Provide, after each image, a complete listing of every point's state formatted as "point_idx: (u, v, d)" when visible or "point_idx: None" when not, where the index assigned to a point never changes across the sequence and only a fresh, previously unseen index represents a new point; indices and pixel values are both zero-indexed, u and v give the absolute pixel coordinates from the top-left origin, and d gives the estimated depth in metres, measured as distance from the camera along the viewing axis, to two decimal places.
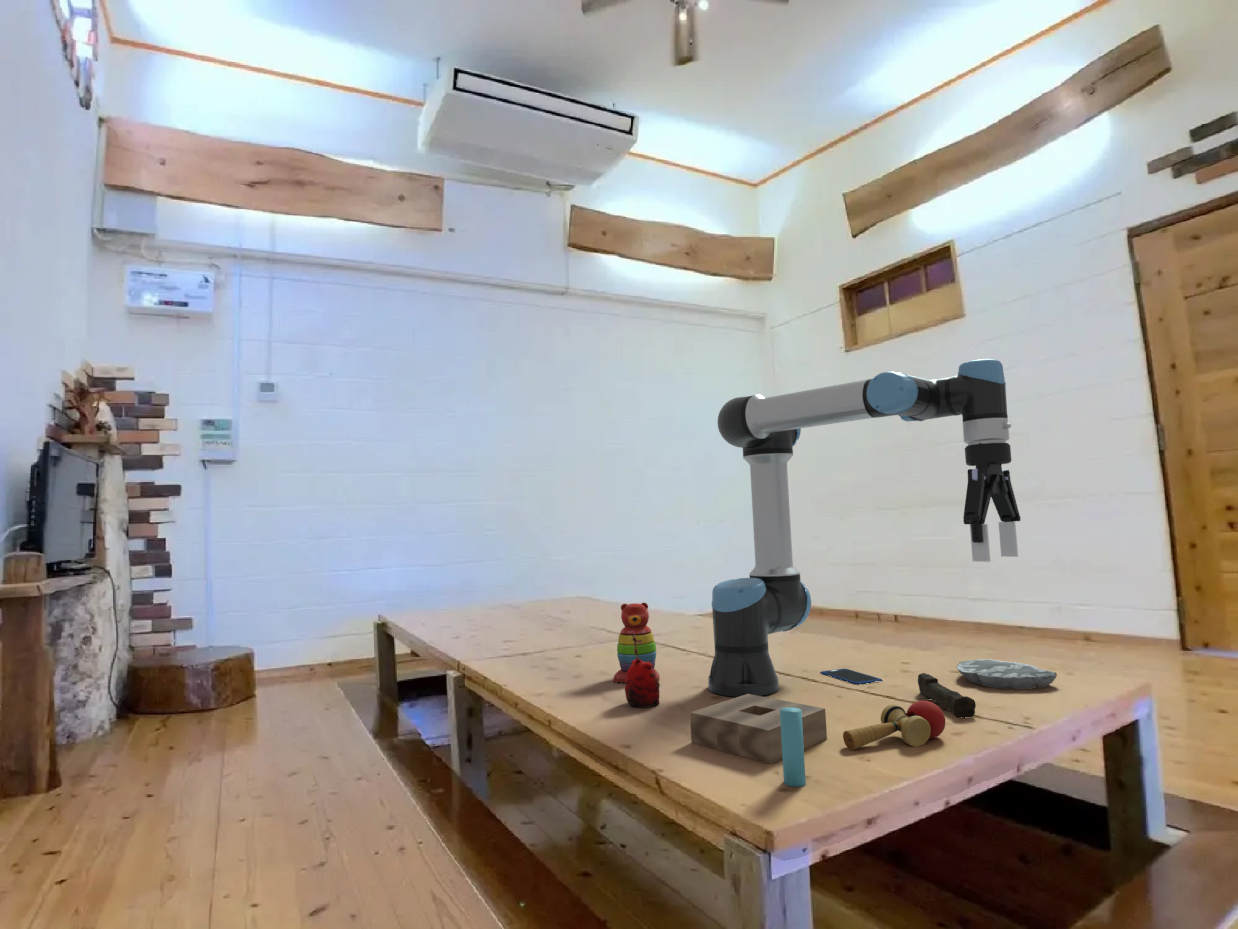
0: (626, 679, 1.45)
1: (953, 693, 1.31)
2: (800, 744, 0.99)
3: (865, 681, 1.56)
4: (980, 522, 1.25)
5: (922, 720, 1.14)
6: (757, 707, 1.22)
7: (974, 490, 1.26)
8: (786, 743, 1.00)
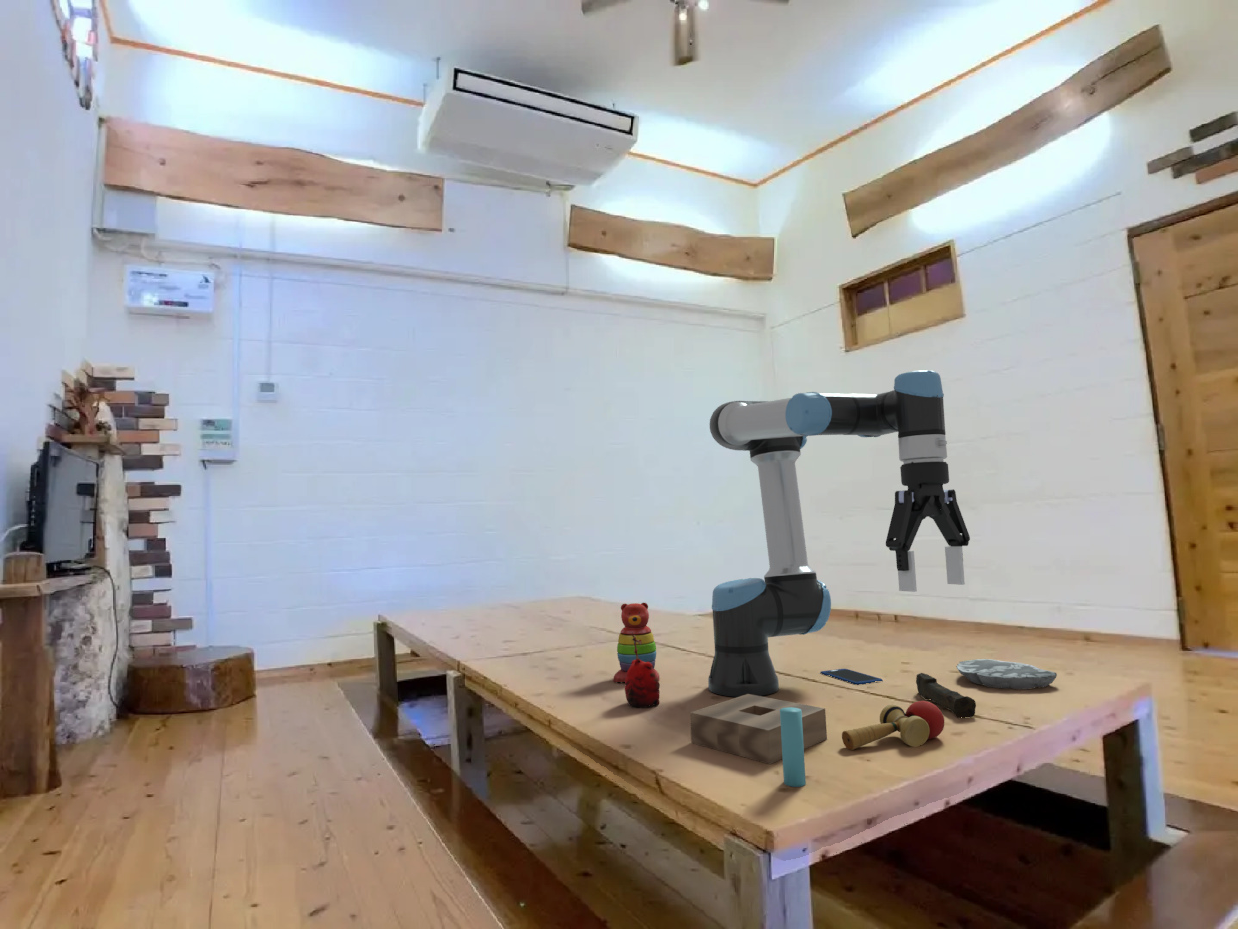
0: (626, 679, 1.45)
1: (953, 693, 1.31)
2: (800, 744, 0.99)
3: (865, 681, 1.56)
4: (904, 549, 1.15)
5: (921, 720, 1.14)
6: (757, 707, 1.22)
7: (899, 514, 1.16)
8: (786, 743, 1.00)
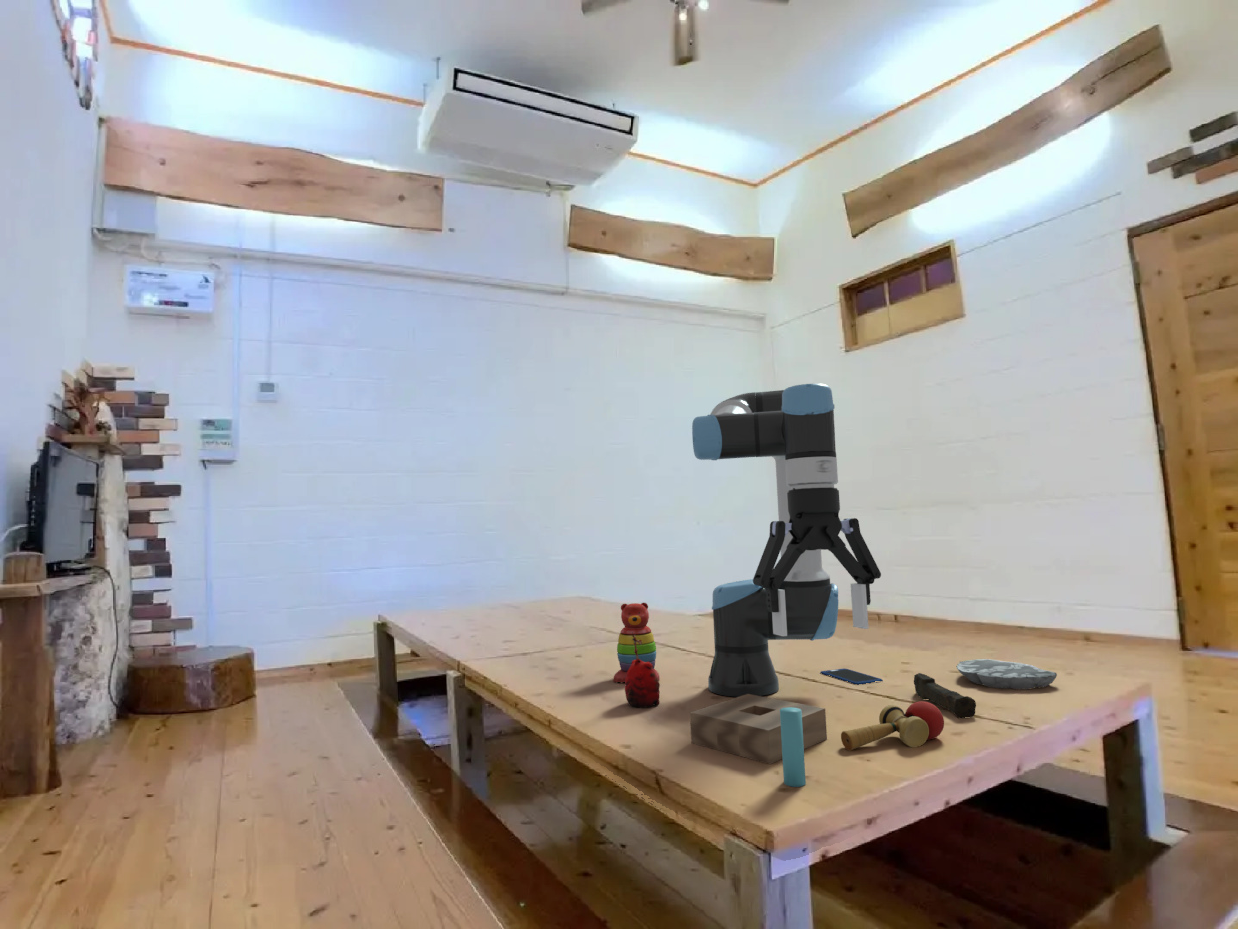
0: (626, 679, 1.45)
1: (953, 693, 1.31)
2: (800, 744, 0.99)
3: (865, 681, 1.56)
4: (771, 587, 1.02)
5: (920, 721, 1.13)
6: (757, 707, 1.22)
7: (769, 548, 1.04)
8: (786, 743, 1.00)
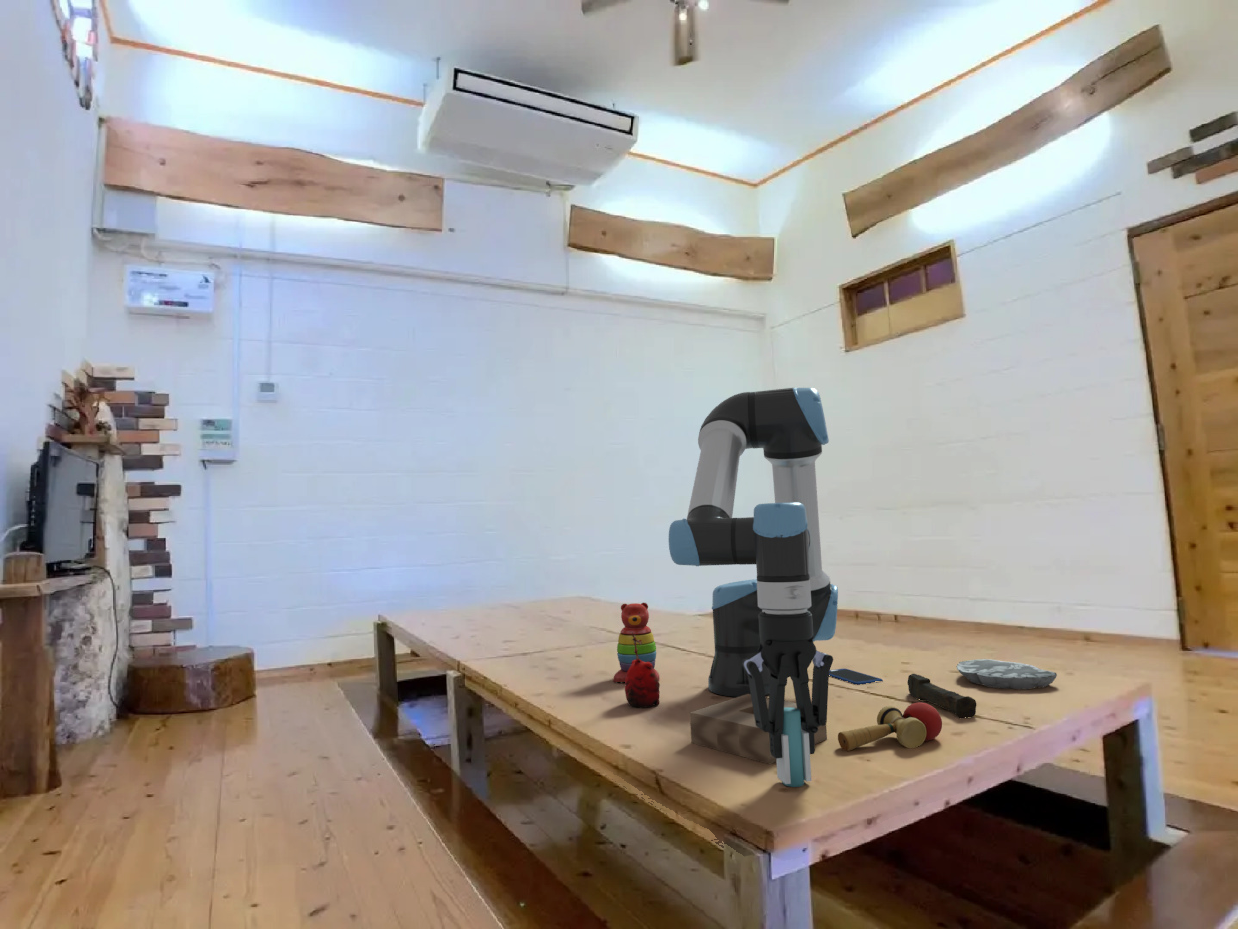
0: (626, 679, 1.45)
1: (952, 693, 1.31)
2: (798, 744, 0.99)
3: (865, 681, 1.56)
4: (774, 733, 0.99)
5: (917, 722, 1.13)
6: None
7: (753, 691, 1.00)
8: None
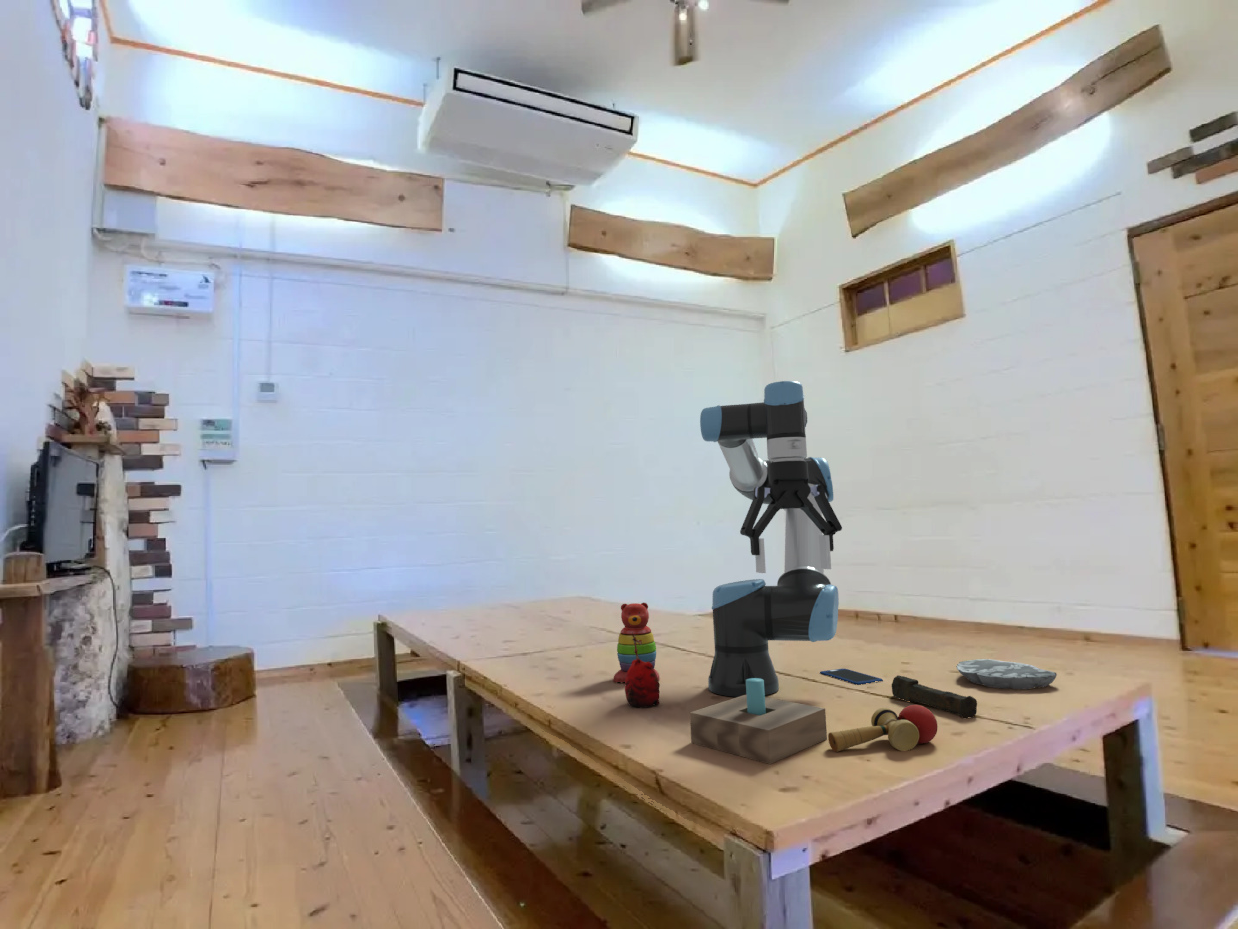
0: (626, 679, 1.45)
1: (951, 694, 1.31)
2: (762, 708, 1.18)
3: (866, 681, 1.56)
4: (753, 536, 1.35)
5: (909, 724, 1.12)
6: None
7: (752, 507, 1.36)
8: (751, 707, 1.19)
